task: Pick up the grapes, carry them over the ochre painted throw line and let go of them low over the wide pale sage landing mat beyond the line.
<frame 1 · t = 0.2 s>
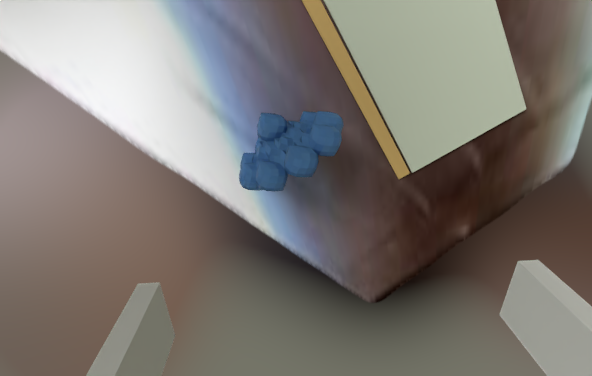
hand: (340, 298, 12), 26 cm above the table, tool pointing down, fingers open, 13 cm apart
grapes: (281, 124, 35), on the table
landing mat: (423, 38, 32), on the table
throw line: (354, 83, 34), on the table
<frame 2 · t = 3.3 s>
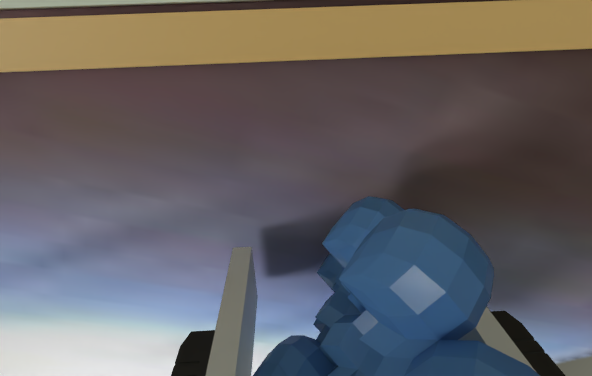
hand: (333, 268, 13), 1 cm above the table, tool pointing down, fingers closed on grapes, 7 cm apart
grapes: (329, 250, 15), on the table, touching gripper
throw line: (348, 33, 10), on the table
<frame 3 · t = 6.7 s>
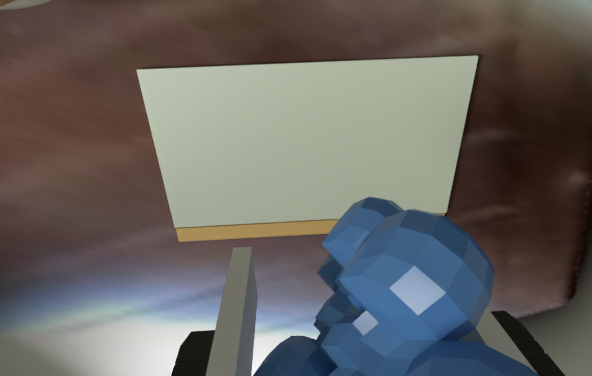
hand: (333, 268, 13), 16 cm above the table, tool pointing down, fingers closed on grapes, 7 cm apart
grapes: (329, 251, 15), point 14 cm above the table, touching gripper
landing mat: (310, 148, 27), on the table
throw line: (311, 226, 31), on the table
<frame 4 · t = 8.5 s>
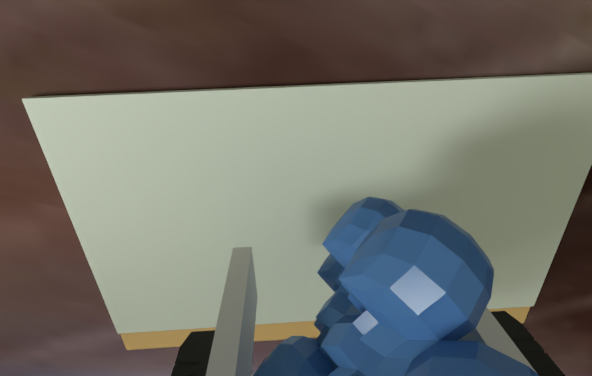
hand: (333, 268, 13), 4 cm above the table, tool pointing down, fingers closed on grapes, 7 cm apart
grapes: (329, 250, 15), point 3 cm above the table, touching gripper
landing mat: (330, 219, 17), on the table
throw line: (328, 324, 20), on the table
when the fingers open (2 cm above the table, at t = 10.1 s): grapes stays where it is, resting on landing mat.
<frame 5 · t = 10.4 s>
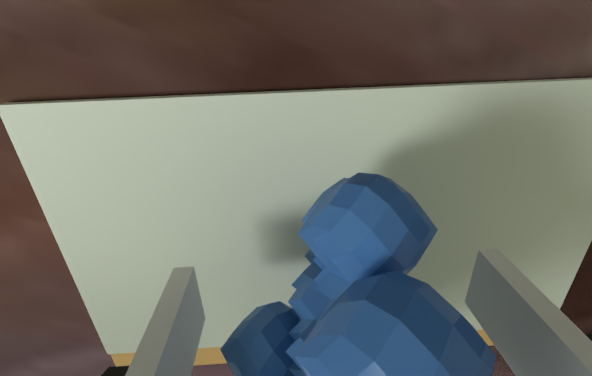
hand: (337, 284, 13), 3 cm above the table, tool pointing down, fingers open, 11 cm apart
grapes: (320, 240, 15), resting on landing mat
landing mat: (335, 234, 16), on the table
throw line: (332, 343, 19), on the table
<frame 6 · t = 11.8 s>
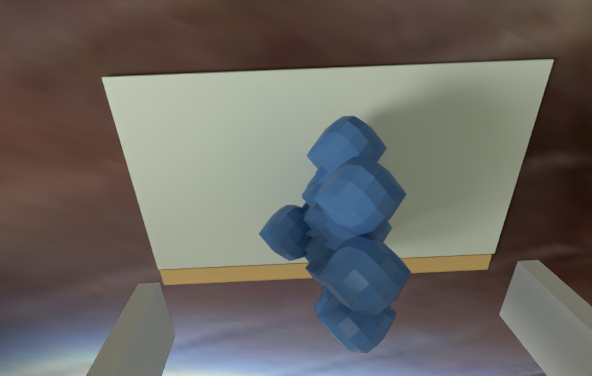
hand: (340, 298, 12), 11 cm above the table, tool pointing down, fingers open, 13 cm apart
grapes: (316, 178, 21), resting on landing mat
landing mat: (327, 176, 22), on the table
throw line: (326, 267, 25), on the table
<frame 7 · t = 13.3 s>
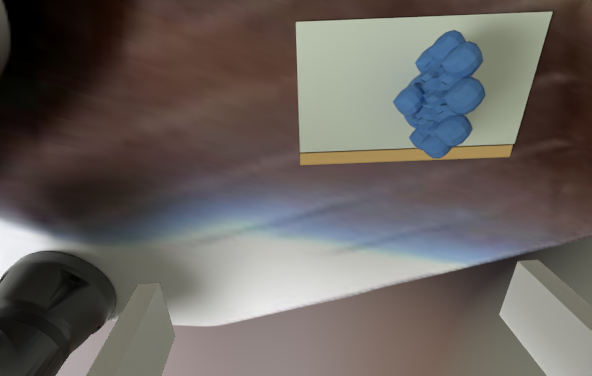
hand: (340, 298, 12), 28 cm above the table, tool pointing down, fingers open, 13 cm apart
grapes: (407, 88, 35), resting on landing mat
landing mat: (413, 87, 35), on the table
throw line: (404, 154, 39), on the table
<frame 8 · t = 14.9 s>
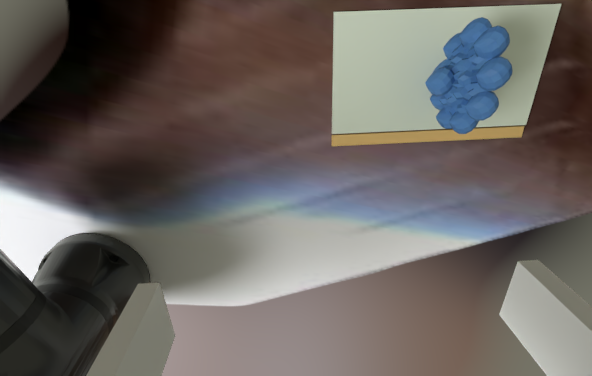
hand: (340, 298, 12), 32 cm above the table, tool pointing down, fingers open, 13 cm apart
grapes: (431, 73, 39), resting on landing mat
landing mat: (437, 73, 39), on the table
throw line: (427, 135, 43), on the table
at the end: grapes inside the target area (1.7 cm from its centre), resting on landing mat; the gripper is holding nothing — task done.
